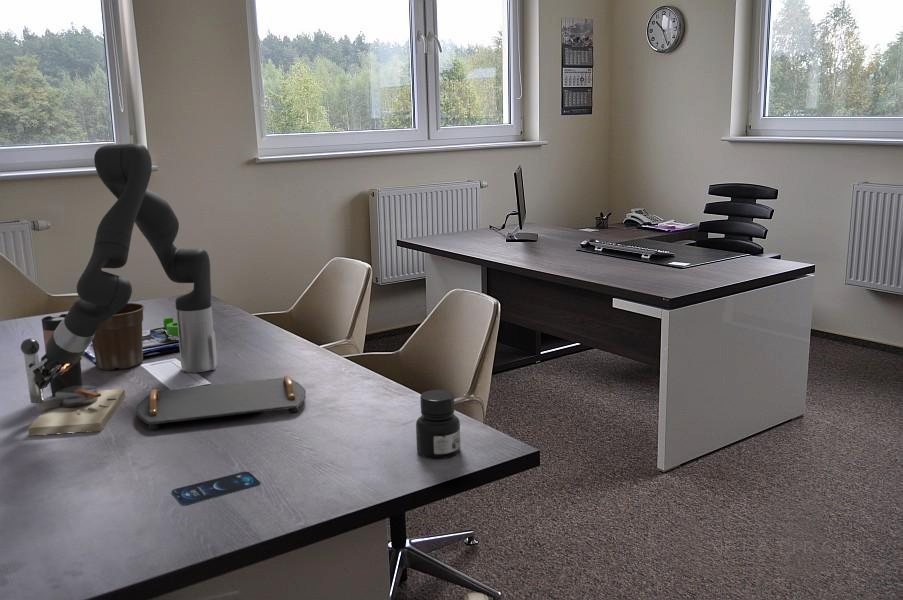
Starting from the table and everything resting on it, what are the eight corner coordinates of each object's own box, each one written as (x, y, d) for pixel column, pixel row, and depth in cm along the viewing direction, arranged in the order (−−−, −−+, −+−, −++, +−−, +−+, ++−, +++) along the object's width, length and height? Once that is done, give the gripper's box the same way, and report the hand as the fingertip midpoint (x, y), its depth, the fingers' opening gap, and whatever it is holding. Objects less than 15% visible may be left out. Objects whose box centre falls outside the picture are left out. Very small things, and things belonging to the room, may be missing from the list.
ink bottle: (444, 463, 165) (442, 406, 163) (407, 455, 170) (405, 398, 167) (469, 447, 173) (468, 391, 171) (433, 439, 178) (432, 385, 175)
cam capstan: (116, 401, 199) (108, 330, 196) (57, 421, 187) (47, 346, 183) (82, 392, 206) (74, 324, 202) (23, 411, 194) (13, 339, 190)
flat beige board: (125, 396, 210) (124, 387, 209) (101, 431, 186) (99, 421, 186) (61, 400, 208) (60, 391, 207) (29, 436, 184) (28, 426, 184)
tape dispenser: (193, 339, 264) (191, 325, 263) (169, 342, 261) (168, 328, 260) (185, 329, 277) (184, 315, 276) (163, 331, 274) (161, 318, 273)
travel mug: (71, 400, 208) (61, 321, 204) (44, 398, 209) (34, 320, 205) (90, 390, 215) (81, 314, 211) (64, 388, 217) (54, 313, 212)
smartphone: (262, 484, 158) (182, 505, 150) (262, 486, 158) (182, 508, 150) (247, 470, 164) (170, 489, 156) (247, 473, 164) (170, 492, 156)
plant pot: (75, 369, 233) (68, 313, 230) (118, 354, 248) (112, 300, 244) (121, 375, 227) (114, 317, 224) (162, 359, 242) (156, 304, 238)
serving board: (134, 437, 184) (131, 410, 183) (141, 403, 206) (138, 379, 204) (312, 415, 195) (310, 390, 193) (300, 386, 216) (298, 362, 215)
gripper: (86, 318, 190) (55, 365, 198) (35, 332, 178) (4, 381, 186) (106, 343, 189) (73, 389, 196) (56, 358, 177) (24, 407, 185)
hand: (40, 385), depth 191 cm, fingers closed
